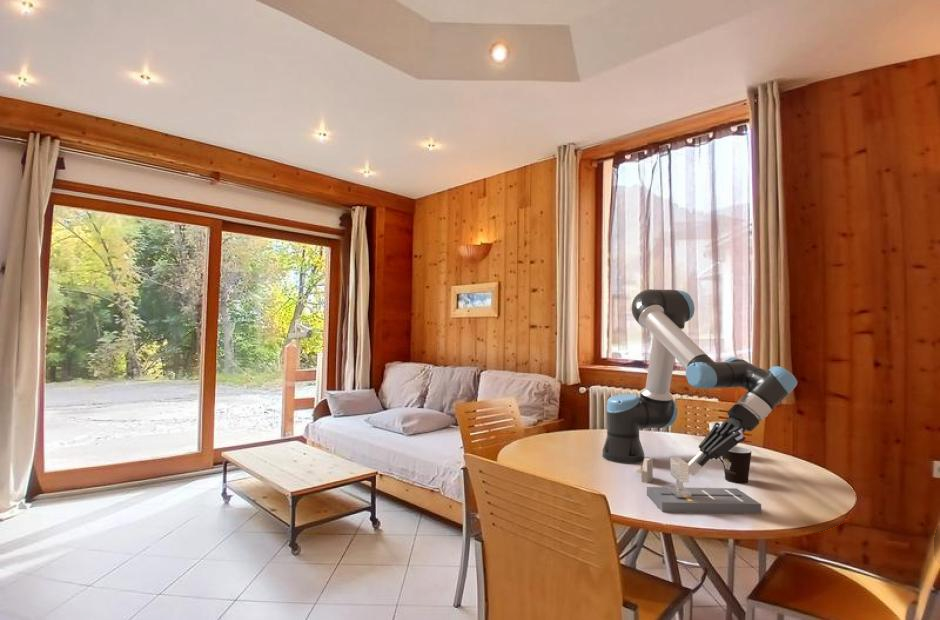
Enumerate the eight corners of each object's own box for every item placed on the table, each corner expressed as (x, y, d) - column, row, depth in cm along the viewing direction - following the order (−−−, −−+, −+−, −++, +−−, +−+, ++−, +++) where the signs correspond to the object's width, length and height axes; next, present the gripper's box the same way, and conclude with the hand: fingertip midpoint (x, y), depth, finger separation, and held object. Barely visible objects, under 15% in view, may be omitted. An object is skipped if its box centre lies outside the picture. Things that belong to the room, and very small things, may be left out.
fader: (677, 497, 126) (676, 463, 127) (668, 489, 133) (667, 457, 133) (691, 497, 126) (691, 464, 126) (682, 489, 132) (681, 457, 133)
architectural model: (636, 482, 148) (636, 459, 149) (643, 476, 154) (642, 454, 154) (647, 484, 146) (647, 461, 147) (653, 479, 152) (653, 456, 152)
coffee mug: (756, 485, 144) (756, 453, 144) (726, 483, 146) (726, 452, 146) (742, 474, 156) (742, 444, 156) (714, 472, 157) (714, 443, 158)
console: (662, 511, 124) (662, 501, 124) (646, 495, 136) (646, 486, 136) (761, 513, 123) (761, 503, 123) (736, 497, 135) (736, 488, 135)
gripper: (772, 426, 123) (709, 489, 123) (745, 417, 136) (688, 473, 136) (751, 406, 123) (689, 468, 123) (726, 399, 136) (669, 455, 136)
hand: (688, 471), depth 130 cm, fingers closed
